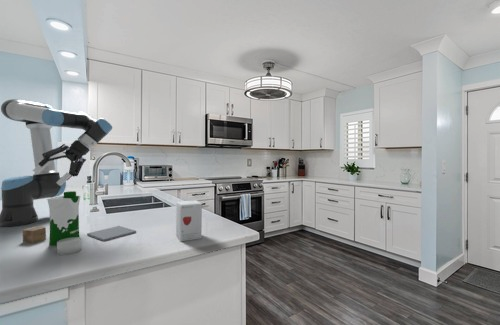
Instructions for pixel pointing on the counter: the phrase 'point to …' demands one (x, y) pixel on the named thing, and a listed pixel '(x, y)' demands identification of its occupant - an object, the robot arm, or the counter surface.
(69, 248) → the white cylinder puck
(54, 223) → the soya milk
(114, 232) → the slate board
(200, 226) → the supplement box
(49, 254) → the counter surface
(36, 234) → the walnut block
